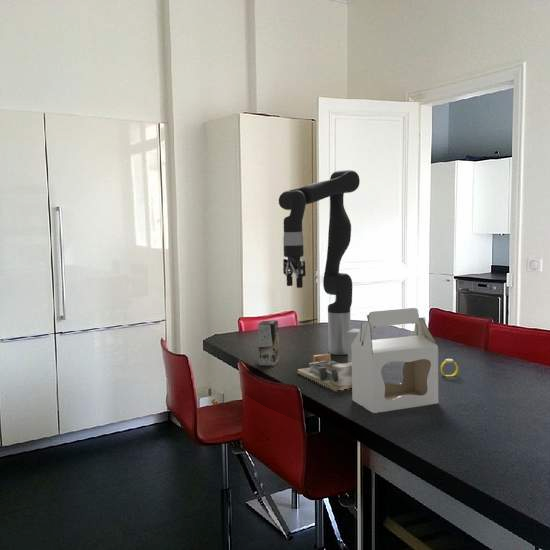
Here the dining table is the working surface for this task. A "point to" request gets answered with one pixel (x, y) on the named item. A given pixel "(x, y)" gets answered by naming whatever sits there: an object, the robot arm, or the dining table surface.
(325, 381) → the gauge frame
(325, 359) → the gauge plunger
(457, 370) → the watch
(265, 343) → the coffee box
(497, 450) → the dining table surface
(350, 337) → the supplement box
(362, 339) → the gable box
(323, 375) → the gauge marker
